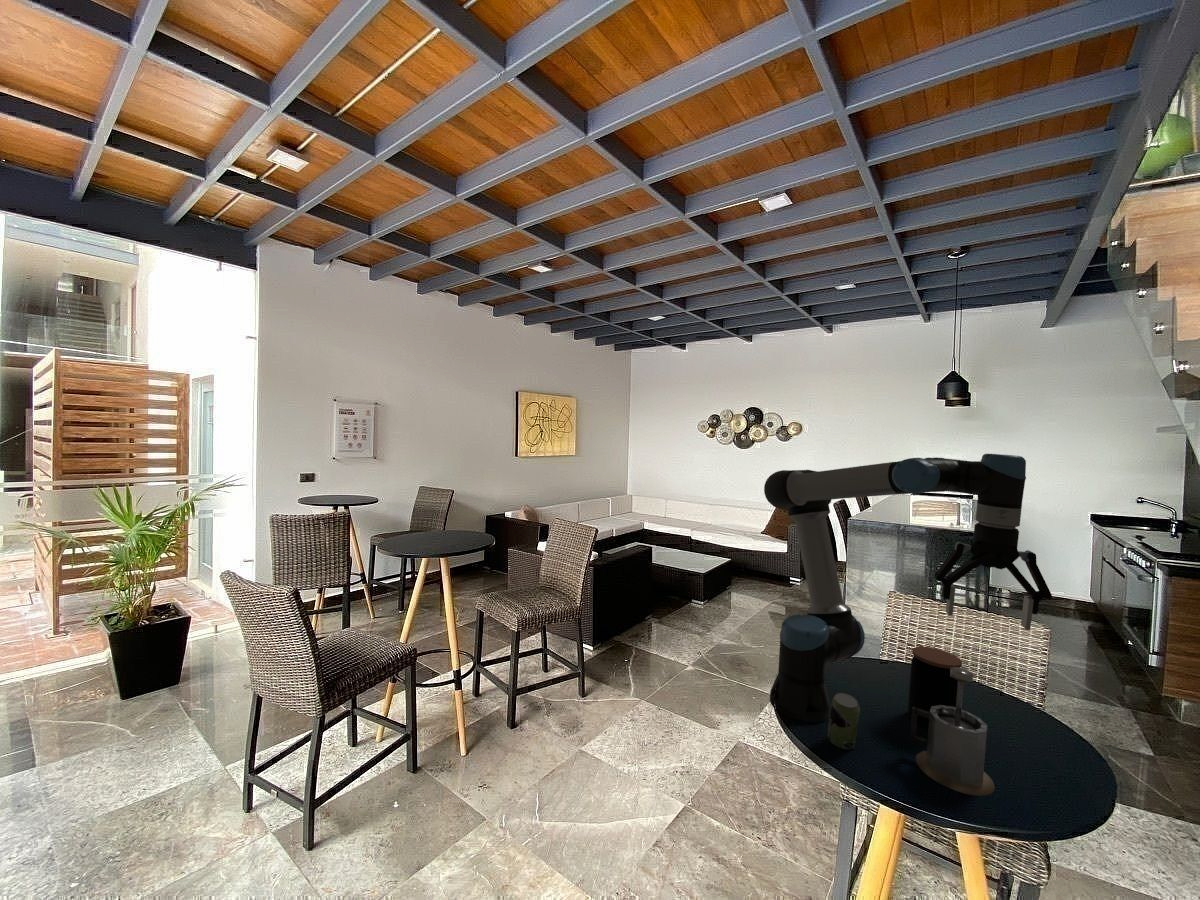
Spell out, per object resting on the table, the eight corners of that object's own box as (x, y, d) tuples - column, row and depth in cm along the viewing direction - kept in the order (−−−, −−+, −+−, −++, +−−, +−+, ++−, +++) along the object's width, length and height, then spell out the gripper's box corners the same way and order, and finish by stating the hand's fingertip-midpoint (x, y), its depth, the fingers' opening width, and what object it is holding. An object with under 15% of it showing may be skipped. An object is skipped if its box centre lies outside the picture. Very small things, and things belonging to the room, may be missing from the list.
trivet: (911, 774, 106) (911, 772, 106) (920, 744, 116) (920, 742, 116) (993, 809, 97) (994, 806, 97) (995, 773, 107) (995, 770, 107)
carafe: (905, 764, 108) (909, 712, 107) (912, 743, 116) (915, 694, 115) (981, 795, 99) (986, 738, 99) (983, 771, 107) (987, 718, 106)
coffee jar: (965, 739, 119) (971, 668, 119) (917, 732, 121) (923, 662, 121) (944, 715, 130) (949, 649, 129) (900, 708, 132) (905, 643, 131)
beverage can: (847, 736, 118) (850, 688, 118) (863, 757, 111) (866, 705, 110) (821, 735, 118) (824, 687, 118) (835, 755, 111) (839, 704, 110)
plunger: (937, 729, 106) (941, 671, 105) (940, 716, 111) (944, 661, 110) (975, 742, 101) (980, 682, 101) (976, 728, 106) (981, 671, 106)
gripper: (932, 520, 107) (922, 613, 108) (1080, 537, 97) (1068, 640, 98) (925, 514, 114) (916, 603, 115) (1063, 530, 103) (1051, 627, 105)
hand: (986, 620), depth 106 cm, fingers open, 13 cm apart
